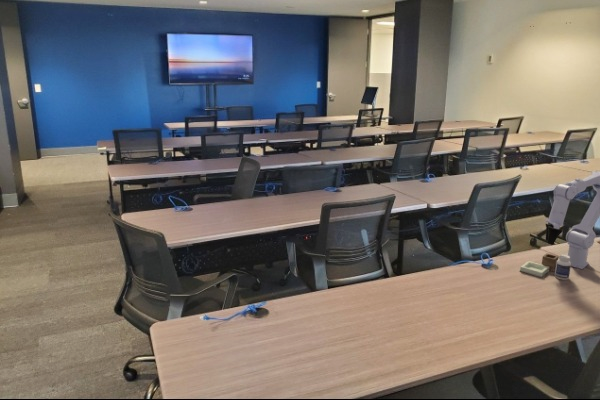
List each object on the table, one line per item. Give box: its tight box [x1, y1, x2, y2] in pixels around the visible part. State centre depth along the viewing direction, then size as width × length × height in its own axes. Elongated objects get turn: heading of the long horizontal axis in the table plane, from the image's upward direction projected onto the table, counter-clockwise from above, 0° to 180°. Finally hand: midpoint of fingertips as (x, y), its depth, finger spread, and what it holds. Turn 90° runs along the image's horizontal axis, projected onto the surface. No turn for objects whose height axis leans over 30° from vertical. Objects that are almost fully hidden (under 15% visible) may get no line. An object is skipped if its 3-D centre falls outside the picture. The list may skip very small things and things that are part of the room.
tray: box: [519, 260, 550, 278], centre depth 201 cm, size 9×9×2 cm
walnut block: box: [541, 252, 560, 273], centre depth 204 cm, size 5×5×6 cm
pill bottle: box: [554, 254, 572, 281], centre depth 194 cm, size 5×5×10 cm
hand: (549, 242), depth 197 cm, fingers open, 7 cm apart
